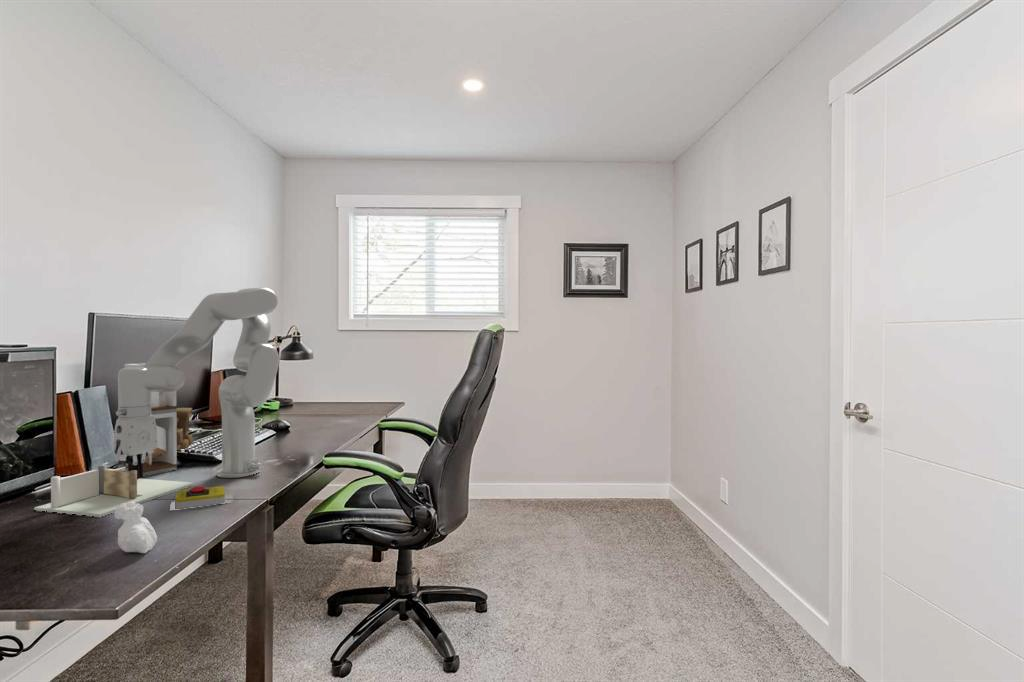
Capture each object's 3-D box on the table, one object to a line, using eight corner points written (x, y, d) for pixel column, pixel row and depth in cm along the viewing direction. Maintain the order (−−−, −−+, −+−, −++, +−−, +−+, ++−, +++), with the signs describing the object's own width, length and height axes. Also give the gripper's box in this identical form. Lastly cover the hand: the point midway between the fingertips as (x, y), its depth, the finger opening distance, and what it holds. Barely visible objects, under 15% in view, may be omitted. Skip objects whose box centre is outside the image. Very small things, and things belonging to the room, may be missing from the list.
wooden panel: (102, 493, 151) (102, 467, 151) (109, 491, 152) (109, 466, 152) (132, 498, 146) (131, 472, 146) (138, 496, 148) (138, 470, 148)
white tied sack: (138, 550, 121) (98, 514, 117) (170, 524, 123) (132, 489, 120) (133, 570, 110) (89, 532, 107) (168, 541, 113) (127, 504, 110)
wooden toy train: (160, 452, 208) (160, 408, 207) (194, 449, 212) (194, 406, 212) (149, 464, 189) (149, 415, 189) (187, 461, 194) (187, 414, 194)
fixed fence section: (103, 491, 153) (102, 464, 153) (108, 492, 153) (108, 464, 153) (48, 508, 139) (48, 477, 139) (55, 508, 139) (54, 478, 139)
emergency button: (170, 487, 148) (233, 480, 155) (170, 503, 148) (233, 495, 155) (168, 496, 140) (234, 488, 147) (168, 513, 140) (234, 505, 147)
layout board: (194, 485, 163) (193, 482, 163) (100, 517, 135) (100, 513, 135) (136, 480, 168) (136, 477, 168) (34, 510, 140) (34, 507, 140)
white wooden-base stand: (125, 471, 179) (124, 364, 178) (161, 465, 188) (160, 362, 187) (140, 476, 172) (139, 365, 172) (176, 470, 181) (176, 363, 181)
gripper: (121, 416, 144) (121, 486, 144) (168, 409, 158) (169, 472, 159) (98, 415, 145) (98, 484, 146) (147, 408, 160) (147, 470, 160)
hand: (135, 478), depth 152 cm, fingers closed
